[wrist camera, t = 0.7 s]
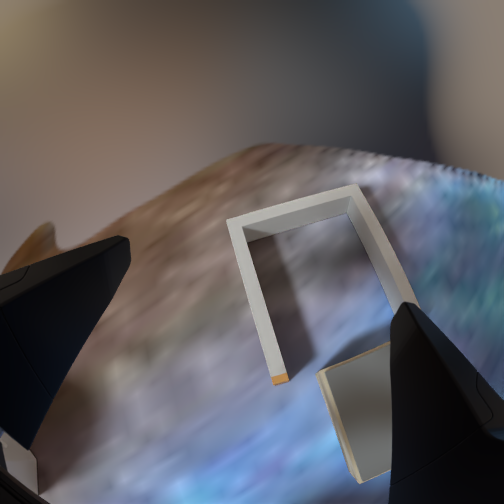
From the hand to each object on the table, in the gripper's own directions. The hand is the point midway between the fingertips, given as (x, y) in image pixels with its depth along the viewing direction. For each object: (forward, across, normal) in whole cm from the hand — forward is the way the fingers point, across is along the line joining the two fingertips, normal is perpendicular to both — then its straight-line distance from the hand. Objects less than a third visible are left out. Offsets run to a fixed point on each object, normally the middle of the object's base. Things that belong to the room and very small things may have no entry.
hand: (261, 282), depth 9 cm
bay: (+12, -4, +7) cm, 14 cm away
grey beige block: (+4, -9, +12) cm, 15 cm away
